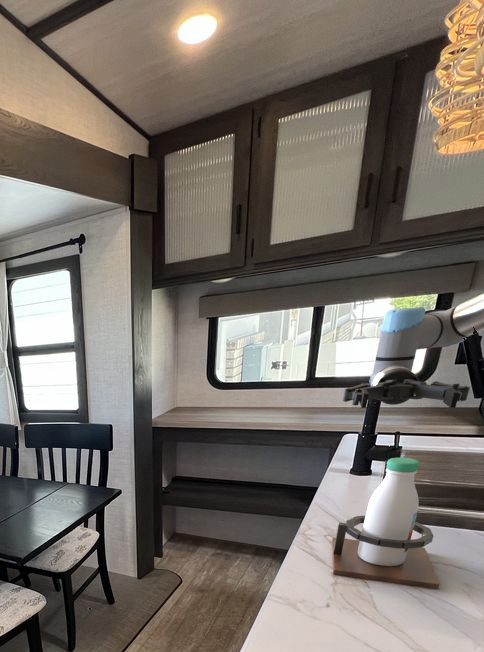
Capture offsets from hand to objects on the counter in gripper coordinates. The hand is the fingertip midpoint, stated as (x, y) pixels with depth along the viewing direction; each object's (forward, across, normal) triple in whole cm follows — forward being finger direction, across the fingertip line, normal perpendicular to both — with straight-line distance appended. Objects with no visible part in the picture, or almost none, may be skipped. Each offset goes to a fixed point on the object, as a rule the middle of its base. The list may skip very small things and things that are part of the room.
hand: (408, 400), depth 88 cm
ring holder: (+10, 0, -30) cm, 32 cm away
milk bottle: (+10, 0, -29) cm, 31 cm away
